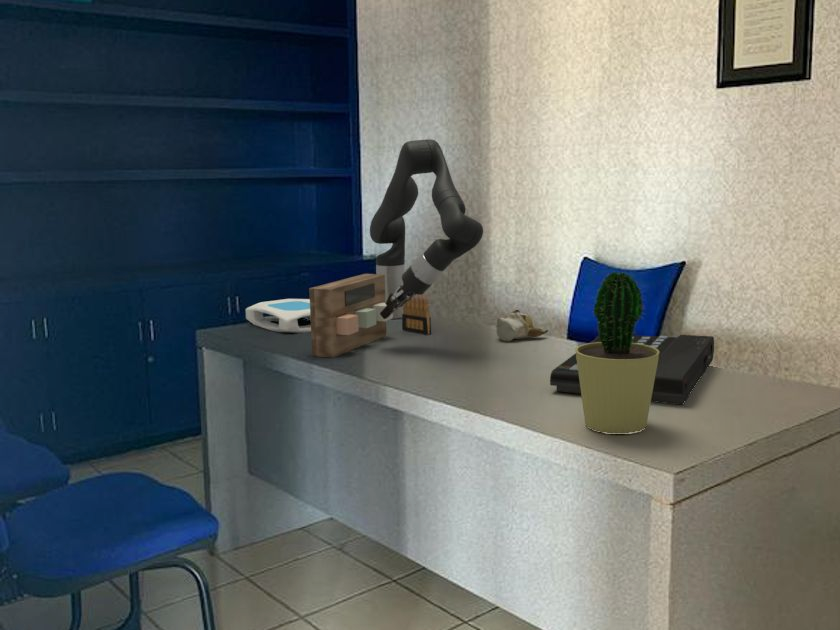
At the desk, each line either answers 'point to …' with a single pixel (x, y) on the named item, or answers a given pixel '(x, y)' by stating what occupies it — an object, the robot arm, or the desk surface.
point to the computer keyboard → (674, 371)
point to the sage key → (366, 317)
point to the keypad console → (341, 301)
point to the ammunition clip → (416, 315)
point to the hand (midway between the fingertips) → (383, 316)
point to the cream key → (379, 308)
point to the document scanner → (281, 315)
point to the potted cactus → (617, 361)
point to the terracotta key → (347, 324)
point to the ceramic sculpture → (517, 327)
